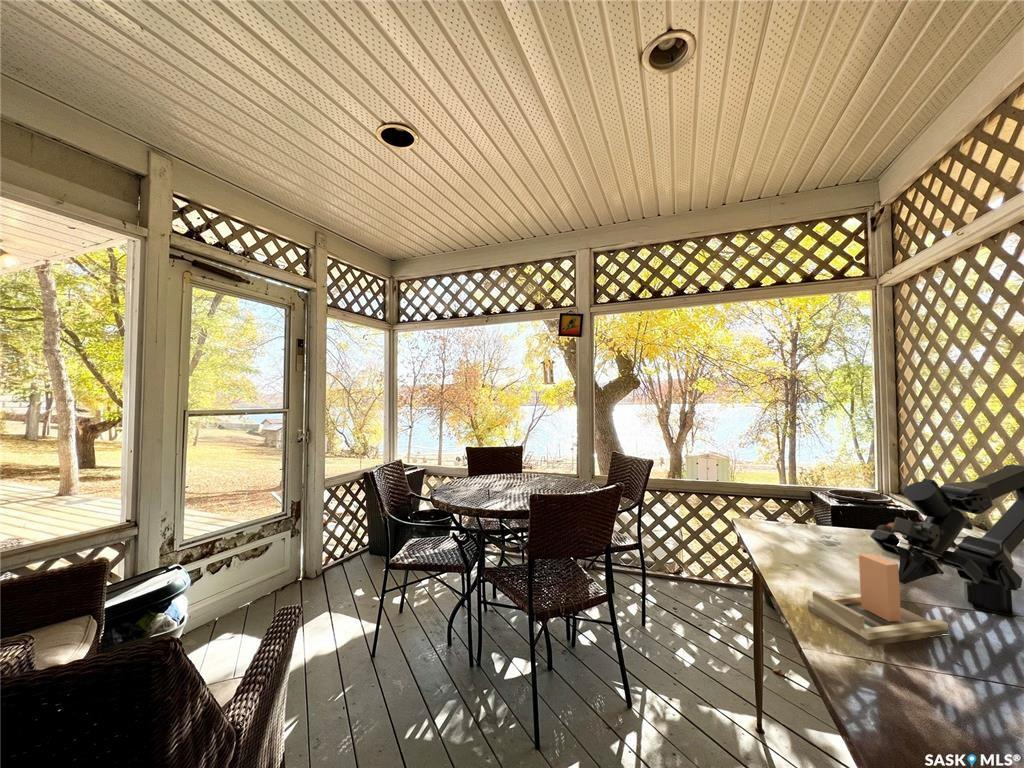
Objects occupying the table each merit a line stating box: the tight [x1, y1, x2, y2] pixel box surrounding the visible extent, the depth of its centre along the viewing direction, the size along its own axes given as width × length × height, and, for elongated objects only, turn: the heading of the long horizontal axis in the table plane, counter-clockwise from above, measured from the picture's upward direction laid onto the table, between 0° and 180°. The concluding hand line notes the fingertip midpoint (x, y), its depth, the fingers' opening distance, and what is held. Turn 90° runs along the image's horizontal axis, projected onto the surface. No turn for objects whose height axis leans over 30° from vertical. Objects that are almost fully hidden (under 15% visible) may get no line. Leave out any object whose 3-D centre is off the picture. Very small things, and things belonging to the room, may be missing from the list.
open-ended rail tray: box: [807, 590, 949, 647], centre depth 90 cm, size 20×14×5 cm
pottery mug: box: [876, 522, 903, 536], centre depth 135 cm, size 12×10×8 cm
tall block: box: [858, 553, 902, 622], centre depth 90 cm, size 3×6×12 cm, turn 8°
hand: (900, 582), depth 91 cm, fingers closed
